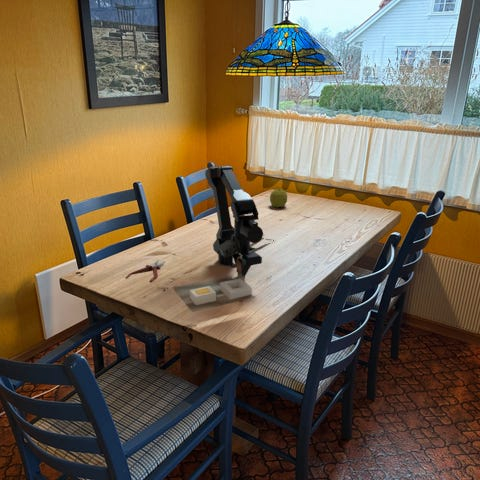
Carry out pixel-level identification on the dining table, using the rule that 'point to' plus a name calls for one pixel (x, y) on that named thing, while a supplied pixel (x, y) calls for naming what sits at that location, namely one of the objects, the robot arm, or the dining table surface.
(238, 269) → the brown wooden peg
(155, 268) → the pliers
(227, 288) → the pilot socket
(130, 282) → the dining table surface
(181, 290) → the board
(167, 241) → the dining table surface
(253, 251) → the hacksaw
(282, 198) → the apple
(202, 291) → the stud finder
